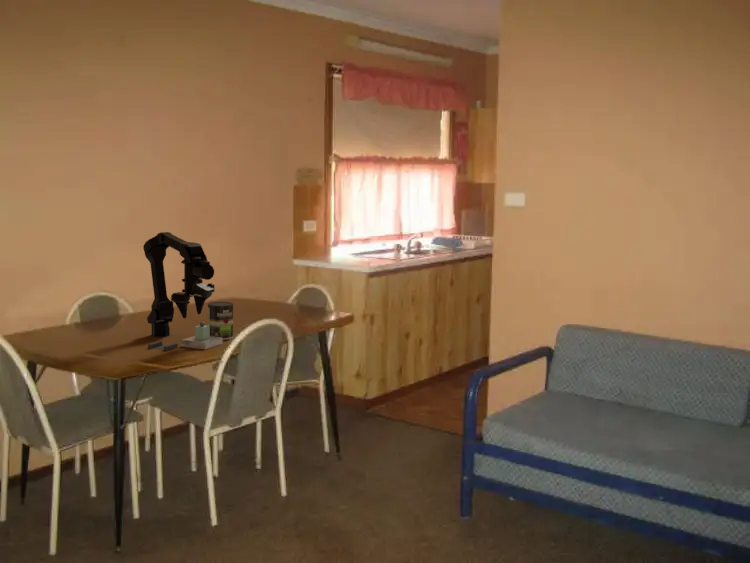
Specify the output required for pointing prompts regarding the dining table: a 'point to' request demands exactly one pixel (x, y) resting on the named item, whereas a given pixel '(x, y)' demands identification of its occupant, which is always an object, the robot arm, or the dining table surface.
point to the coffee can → (221, 319)
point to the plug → (202, 332)
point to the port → (202, 342)
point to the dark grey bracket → (162, 346)
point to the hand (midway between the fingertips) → (191, 316)
